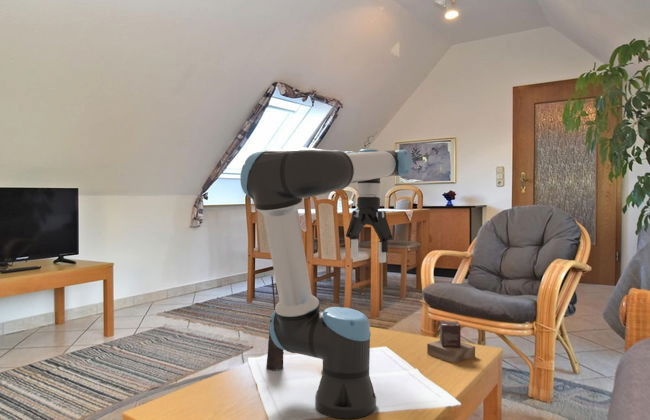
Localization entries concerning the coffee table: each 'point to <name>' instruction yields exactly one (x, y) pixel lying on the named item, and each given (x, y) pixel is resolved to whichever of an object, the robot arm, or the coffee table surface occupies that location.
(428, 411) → the coffee table surface
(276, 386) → the coffee table surface
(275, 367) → the butter churn
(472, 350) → the walnut block
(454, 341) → the box
